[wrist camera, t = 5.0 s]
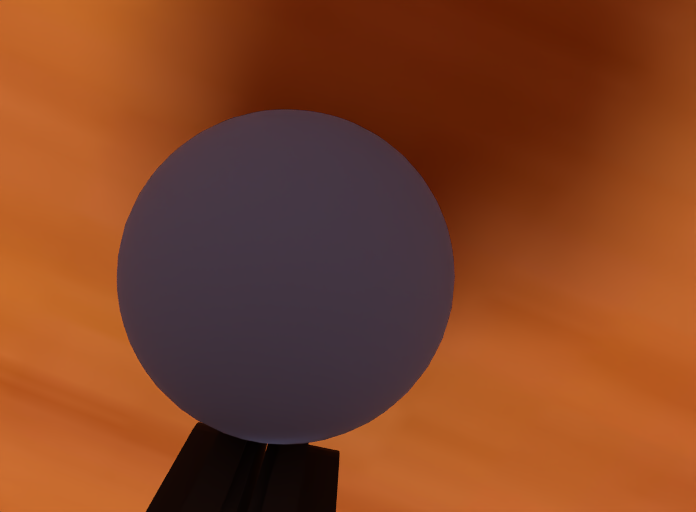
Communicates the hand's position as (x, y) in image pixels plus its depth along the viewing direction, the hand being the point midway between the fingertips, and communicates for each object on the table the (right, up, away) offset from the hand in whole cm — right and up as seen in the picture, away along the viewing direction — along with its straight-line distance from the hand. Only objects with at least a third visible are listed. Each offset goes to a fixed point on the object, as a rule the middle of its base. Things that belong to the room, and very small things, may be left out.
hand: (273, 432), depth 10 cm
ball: (+1, +4, -2) cm, 5 cm away
